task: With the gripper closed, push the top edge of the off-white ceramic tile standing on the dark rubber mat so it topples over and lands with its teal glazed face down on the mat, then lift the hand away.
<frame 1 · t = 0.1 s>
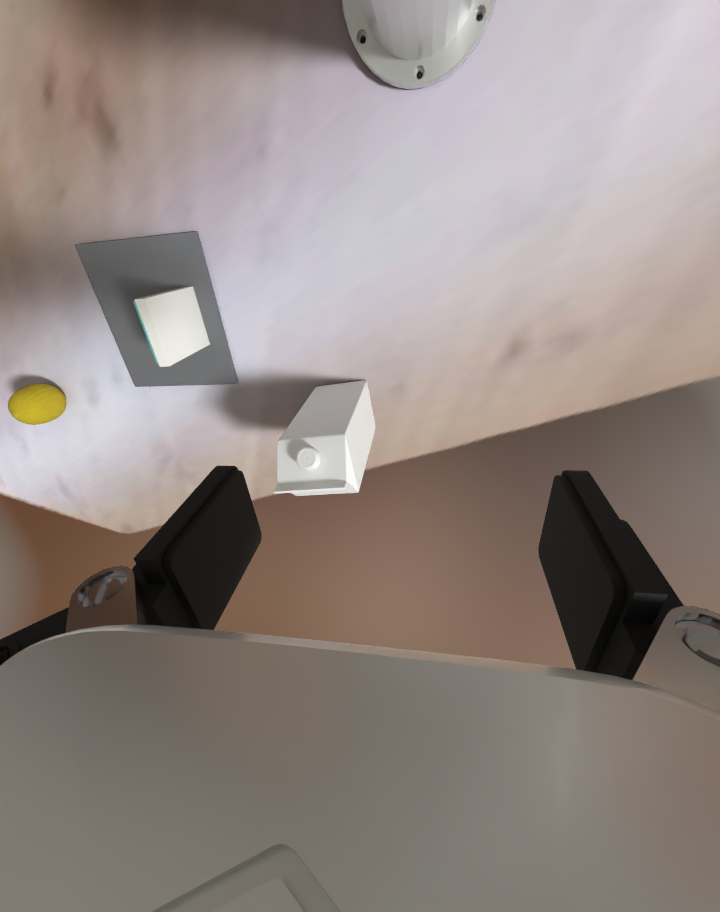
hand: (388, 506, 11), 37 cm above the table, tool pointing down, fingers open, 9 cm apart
tile: (196, 316, 46), point 1 cm above the table, touching mat
milk carton: (346, 406, 51), on the table
mat: (163, 318, 48), on the table
lemon: (63, 392, 57), on the table
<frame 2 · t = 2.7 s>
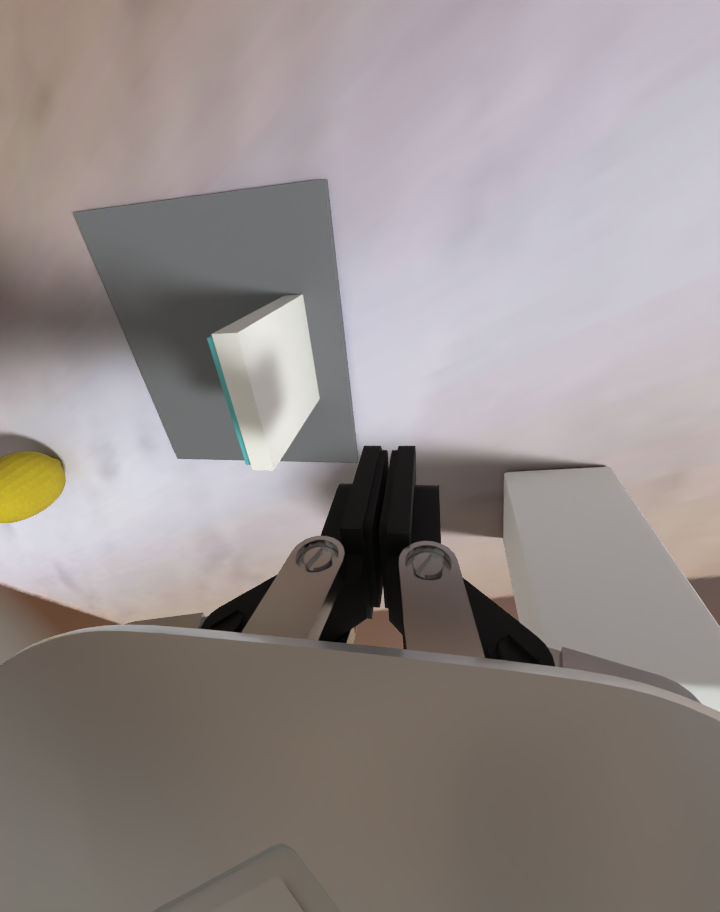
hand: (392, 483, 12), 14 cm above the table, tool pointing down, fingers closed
tile: (300, 350, 25), point 1 cm above the table, touching mat
milk carton: (550, 503, 29), on the table
mat: (236, 350, 26), on the table
lemon: (60, 459, 36), on the table
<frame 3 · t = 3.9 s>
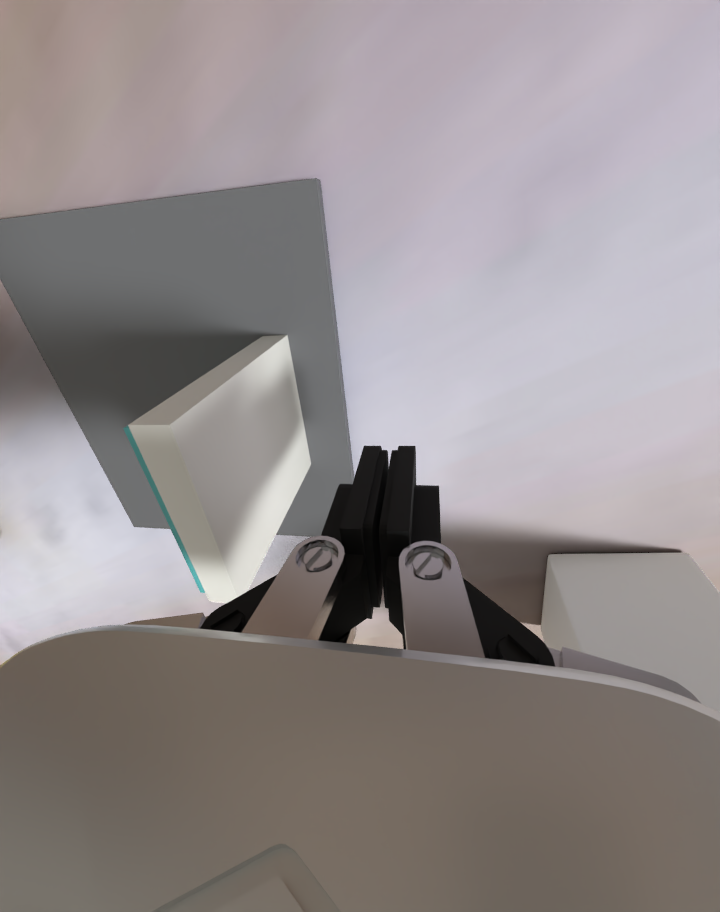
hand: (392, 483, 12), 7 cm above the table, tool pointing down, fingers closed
tile: (285, 406, 19), point 1 cm above the table, touching mat
milk carton: (603, 589, 23), on the table
mat: (202, 402, 20), on the table
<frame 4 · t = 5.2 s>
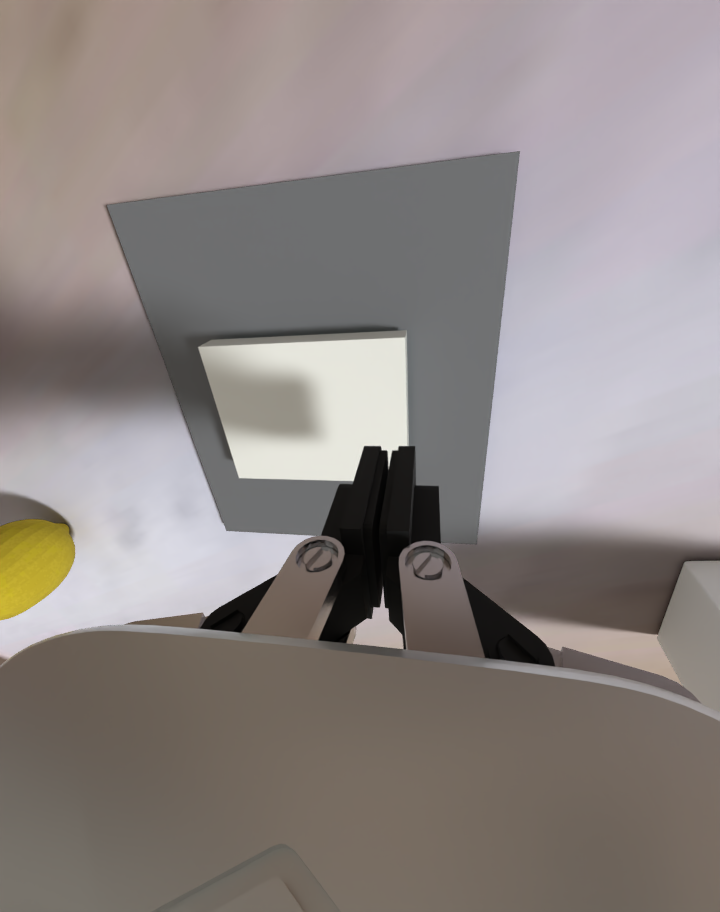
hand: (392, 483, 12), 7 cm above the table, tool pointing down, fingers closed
tile: (407, 410, 17), point 1 cm above the table, tilted 90°, touching mat
mat: (326, 399, 19), on the table
lemon: (67, 523, 28), on the table
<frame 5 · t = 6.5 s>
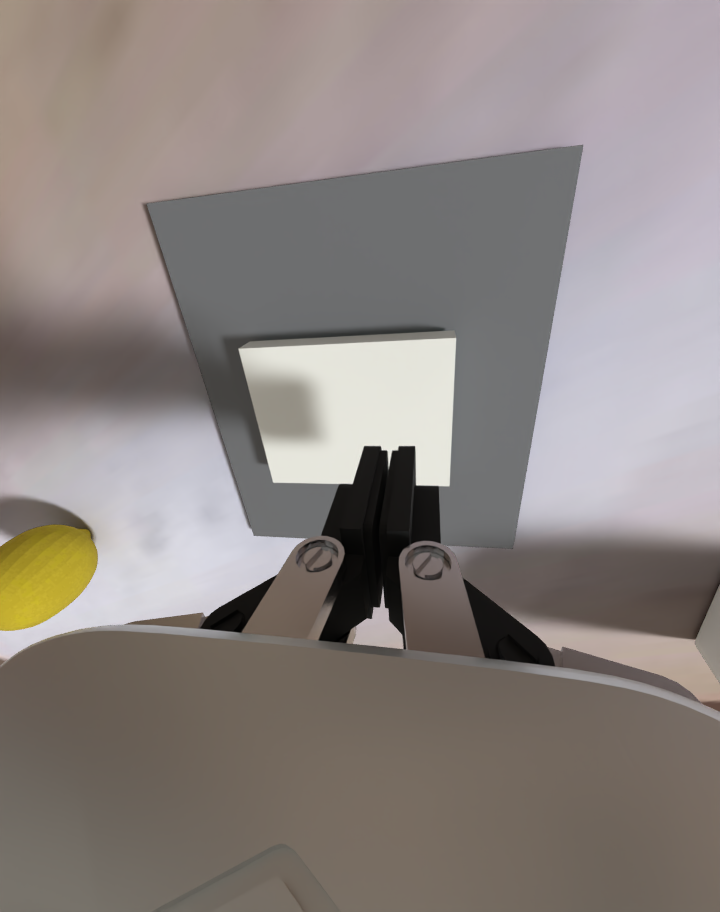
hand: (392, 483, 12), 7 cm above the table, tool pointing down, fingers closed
tile: (451, 412, 16), point 1 cm above the table, tilted 90°, touching mat
mat: (364, 402, 18), on the table
lemon: (89, 529, 28), on the table
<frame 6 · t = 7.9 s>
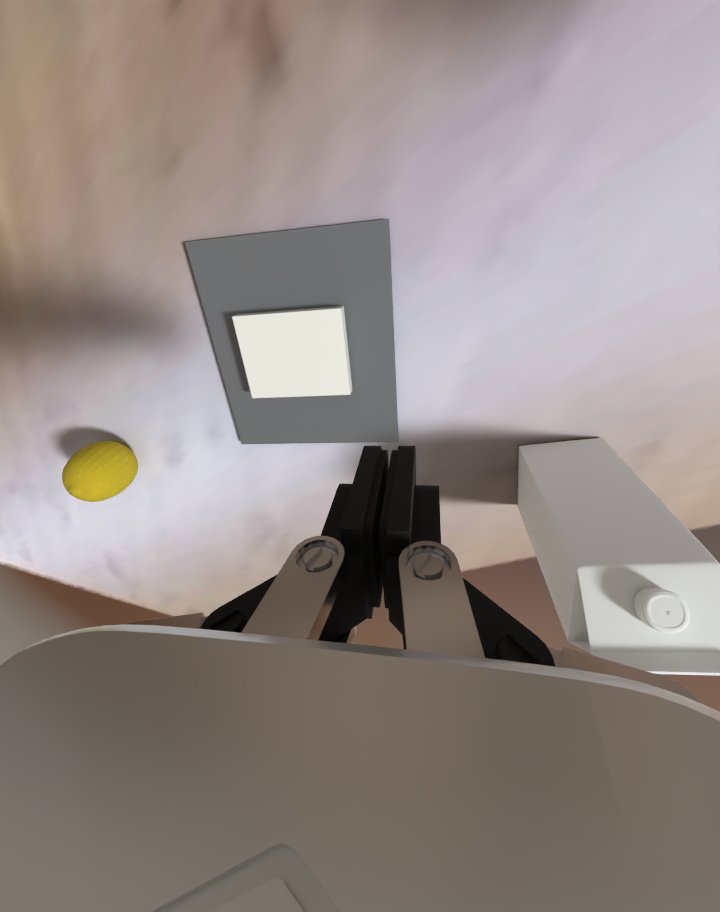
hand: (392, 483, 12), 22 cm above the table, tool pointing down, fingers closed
tile: (347, 351, 31), point 1 cm above the table, tilted 90°, touching mat
milk carton: (556, 472, 35), on the table
mat: (303, 350, 32), on the table
lemon: (130, 450, 41), on the table
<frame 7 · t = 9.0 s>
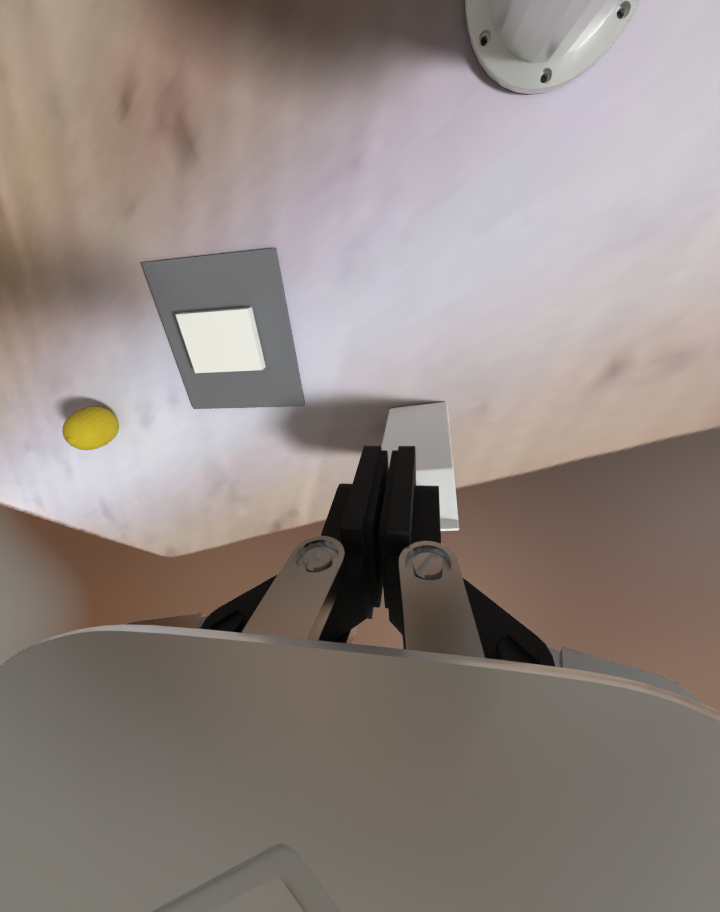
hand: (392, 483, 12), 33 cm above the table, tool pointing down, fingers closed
tile: (257, 339, 43), point 1 cm above the table, tilted 90°, touching mat
milk carton: (420, 428, 48), on the table
mat: (230, 338, 45), on the table
lemon: (114, 414, 55), on the table
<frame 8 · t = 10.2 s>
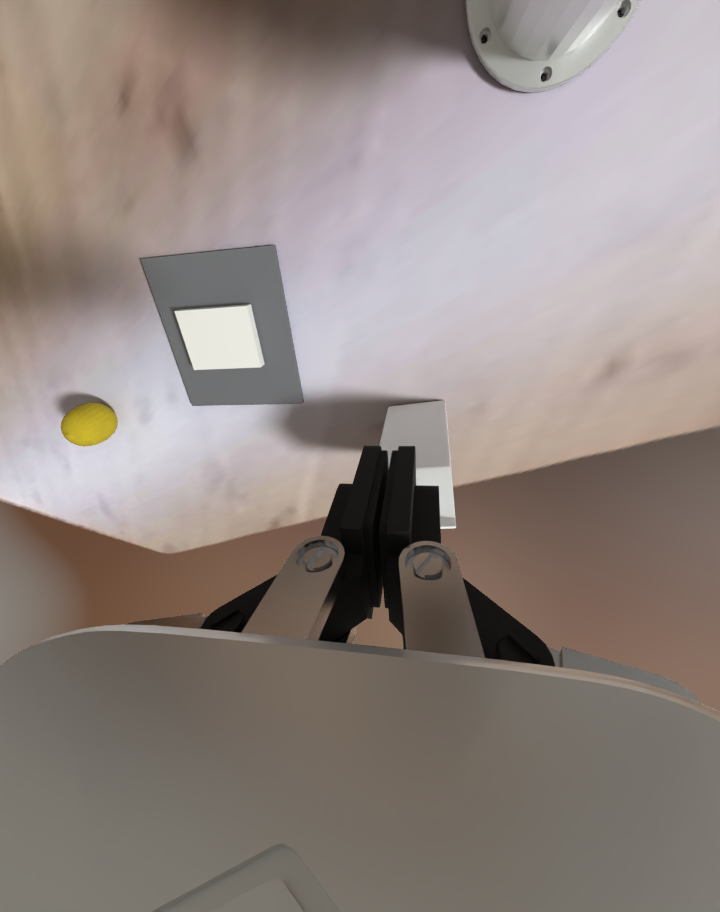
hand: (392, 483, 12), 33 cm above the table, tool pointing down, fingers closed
tile: (256, 336, 43), point 1 cm above the table, tilted 90°, touching mat
milk carton: (419, 427, 48), on the table
mat: (229, 335, 45), on the table
lemon: (112, 411, 55), on the table
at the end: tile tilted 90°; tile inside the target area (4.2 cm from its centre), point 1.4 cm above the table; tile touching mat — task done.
